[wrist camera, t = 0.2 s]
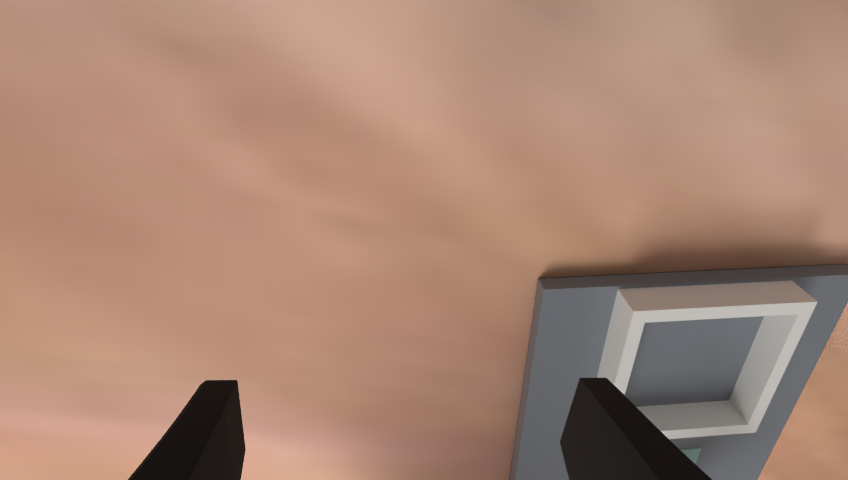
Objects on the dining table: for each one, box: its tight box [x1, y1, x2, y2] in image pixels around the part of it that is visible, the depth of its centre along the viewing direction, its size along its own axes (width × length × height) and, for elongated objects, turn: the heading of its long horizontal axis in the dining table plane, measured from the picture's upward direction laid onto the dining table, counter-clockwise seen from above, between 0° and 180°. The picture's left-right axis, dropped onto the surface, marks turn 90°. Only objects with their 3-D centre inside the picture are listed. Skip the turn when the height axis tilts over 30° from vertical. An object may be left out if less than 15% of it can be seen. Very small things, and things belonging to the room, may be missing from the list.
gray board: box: [509, 264, 848, 480], centre depth 26 cm, size 16×14×2 cm
